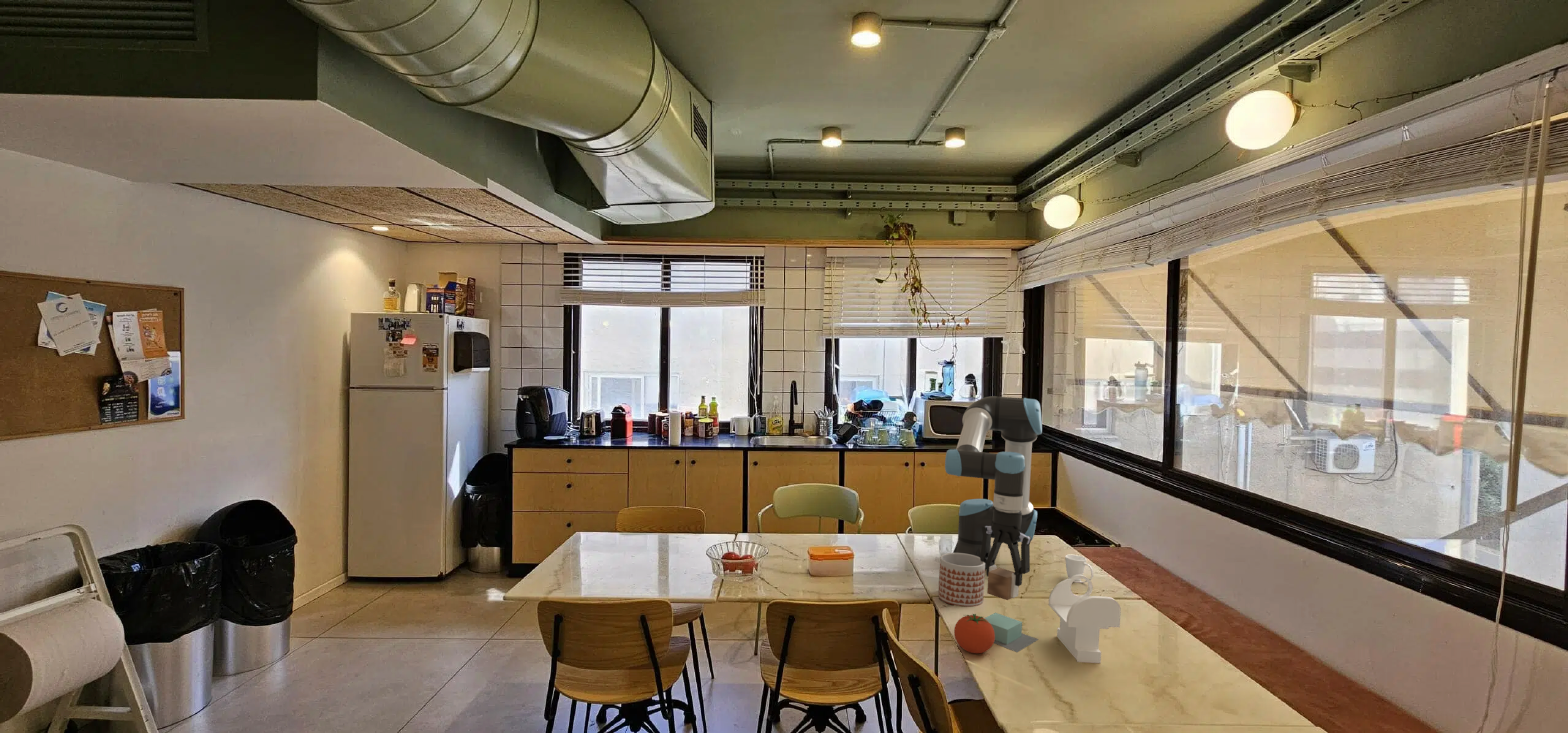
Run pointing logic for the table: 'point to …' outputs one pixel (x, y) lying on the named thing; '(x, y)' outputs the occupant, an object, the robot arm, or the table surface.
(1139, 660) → the table surface
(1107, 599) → the tape dispenser
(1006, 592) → the walnut block
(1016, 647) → the build mat
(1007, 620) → the teal base block
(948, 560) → the planter
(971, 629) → the tomato
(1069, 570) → the cup
